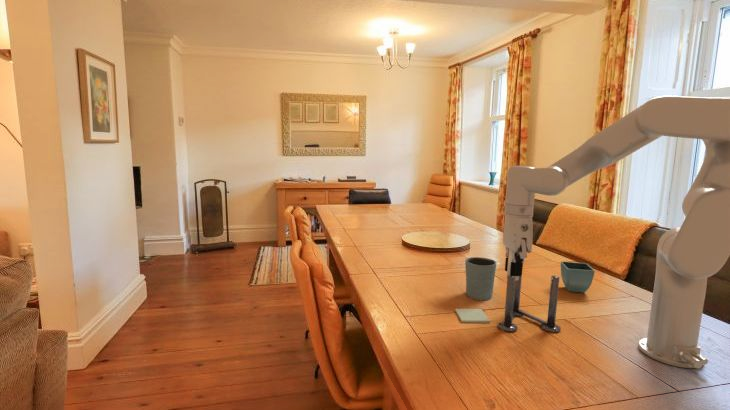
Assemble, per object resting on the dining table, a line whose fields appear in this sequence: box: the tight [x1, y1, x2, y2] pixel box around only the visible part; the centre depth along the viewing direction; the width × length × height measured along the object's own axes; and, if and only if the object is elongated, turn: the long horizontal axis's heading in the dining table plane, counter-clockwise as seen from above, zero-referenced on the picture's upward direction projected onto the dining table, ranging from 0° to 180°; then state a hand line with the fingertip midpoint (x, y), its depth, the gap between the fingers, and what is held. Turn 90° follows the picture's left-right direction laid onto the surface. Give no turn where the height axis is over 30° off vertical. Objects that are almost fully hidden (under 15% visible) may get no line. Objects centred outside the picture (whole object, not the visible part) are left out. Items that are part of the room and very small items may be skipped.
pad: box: [455, 308, 491, 324], centre depth 114 cm, size 8×8×1 cm
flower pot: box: [560, 261, 596, 293], centre depth 136 cm, size 9×9×9 cm
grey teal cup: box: [465, 256, 498, 301], centre depth 130 cm, size 10×10×12 cm
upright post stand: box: [497, 275, 562, 334], centre depth 111 cm, size 15×17×15 cm
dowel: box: [506, 249, 520, 281], centre depth 110 cm, size 3×3×10 cm
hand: (513, 272), depth 110 cm, fingers closed on dowel, 3 cm apart
